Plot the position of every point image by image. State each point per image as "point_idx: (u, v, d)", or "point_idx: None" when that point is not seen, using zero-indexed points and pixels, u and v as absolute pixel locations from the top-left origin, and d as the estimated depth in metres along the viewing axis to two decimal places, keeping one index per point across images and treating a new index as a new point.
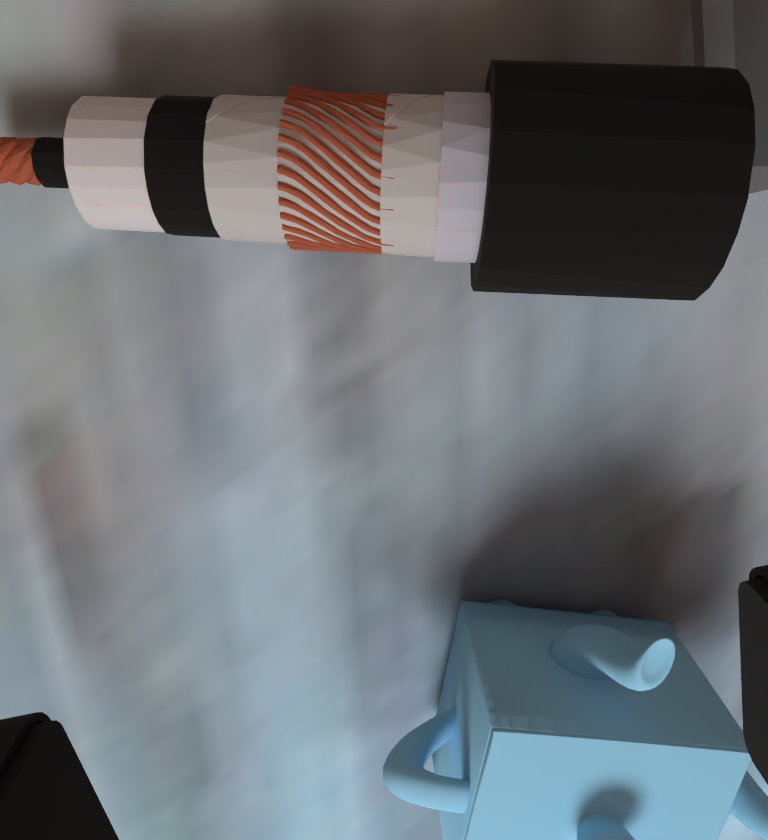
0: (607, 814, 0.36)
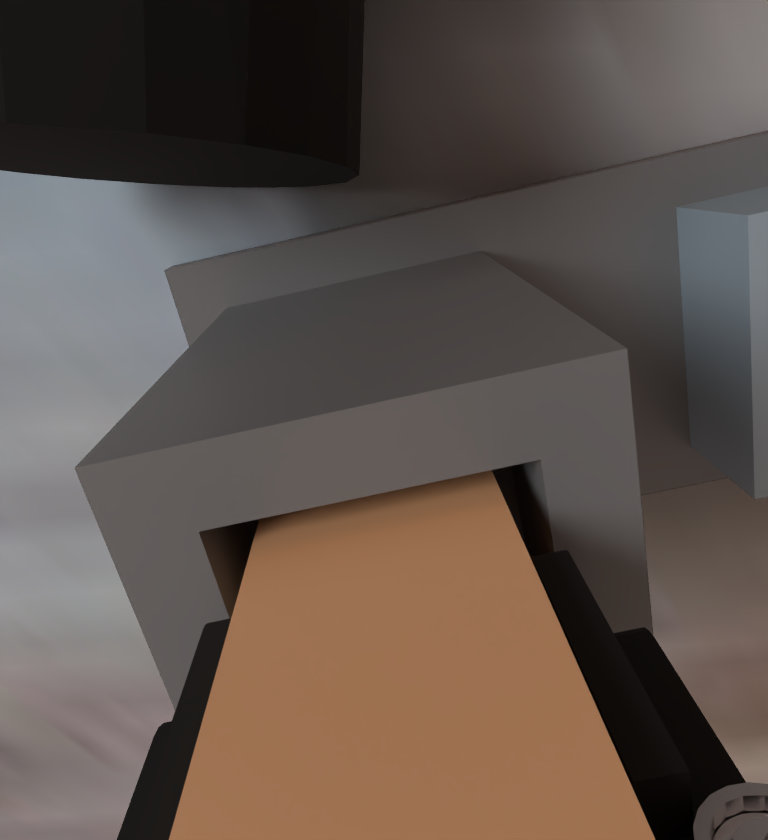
0: None
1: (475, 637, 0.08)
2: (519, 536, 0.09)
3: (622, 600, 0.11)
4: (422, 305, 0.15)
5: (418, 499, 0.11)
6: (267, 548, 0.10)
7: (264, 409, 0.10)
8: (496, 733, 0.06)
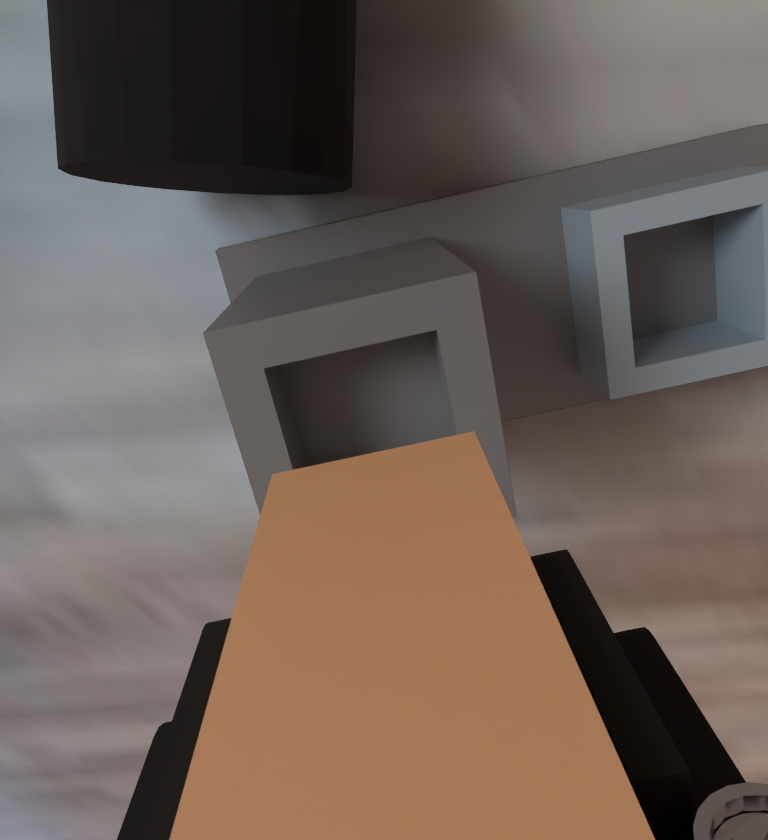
0: None
1: (474, 636, 0.08)
2: (519, 536, 0.09)
3: (484, 409, 0.21)
4: (384, 264, 0.25)
5: (418, 499, 0.11)
6: (267, 548, 0.10)
7: (296, 307, 0.20)
8: (495, 732, 0.06)
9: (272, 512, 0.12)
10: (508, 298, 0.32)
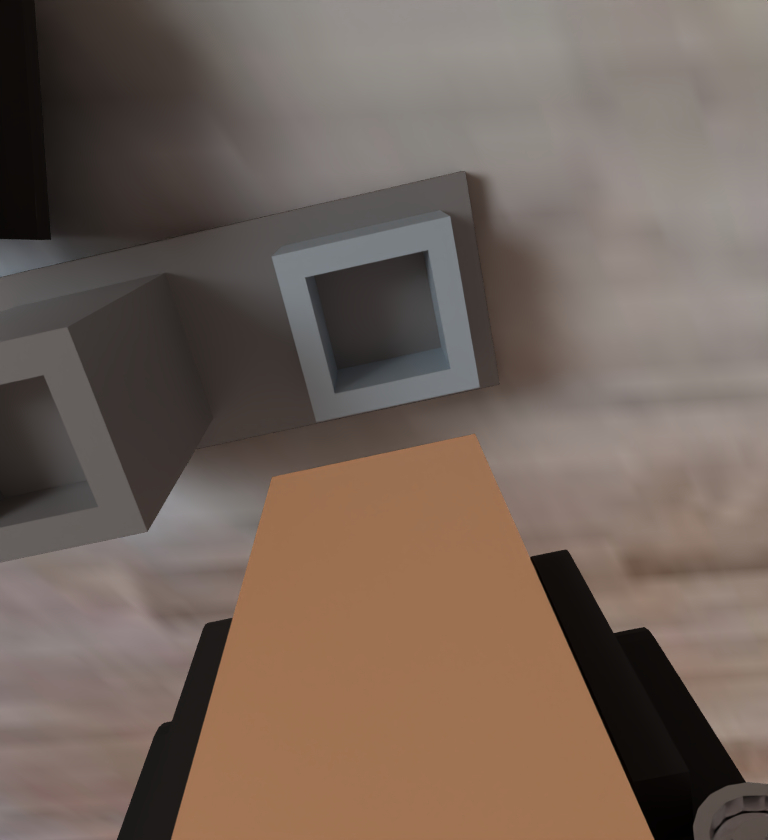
0: None
1: (475, 642, 0.08)
2: (520, 540, 0.09)
3: (99, 441, 0.24)
4: (70, 307, 0.28)
5: (419, 502, 0.11)
6: (267, 552, 0.10)
7: None
8: (497, 741, 0.06)
9: (272, 516, 0.12)
10: (244, 327, 0.35)
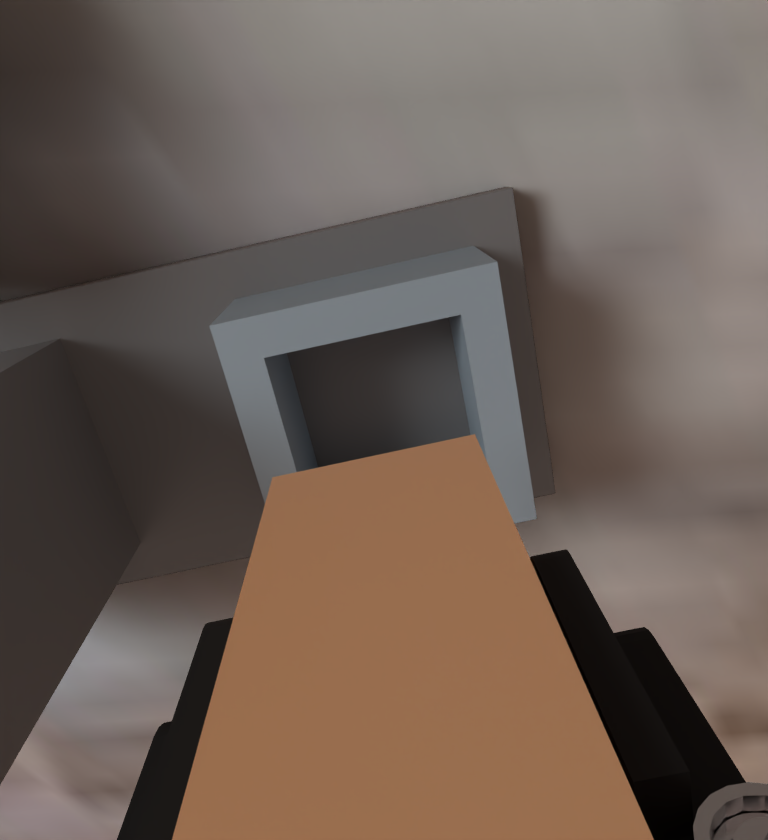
0: None
1: (476, 642, 0.08)
2: (520, 540, 0.09)
3: None
4: None
5: (419, 503, 0.11)
6: (268, 551, 0.10)
7: None
8: (496, 739, 0.06)
9: (272, 516, 0.12)
10: (182, 416, 0.24)
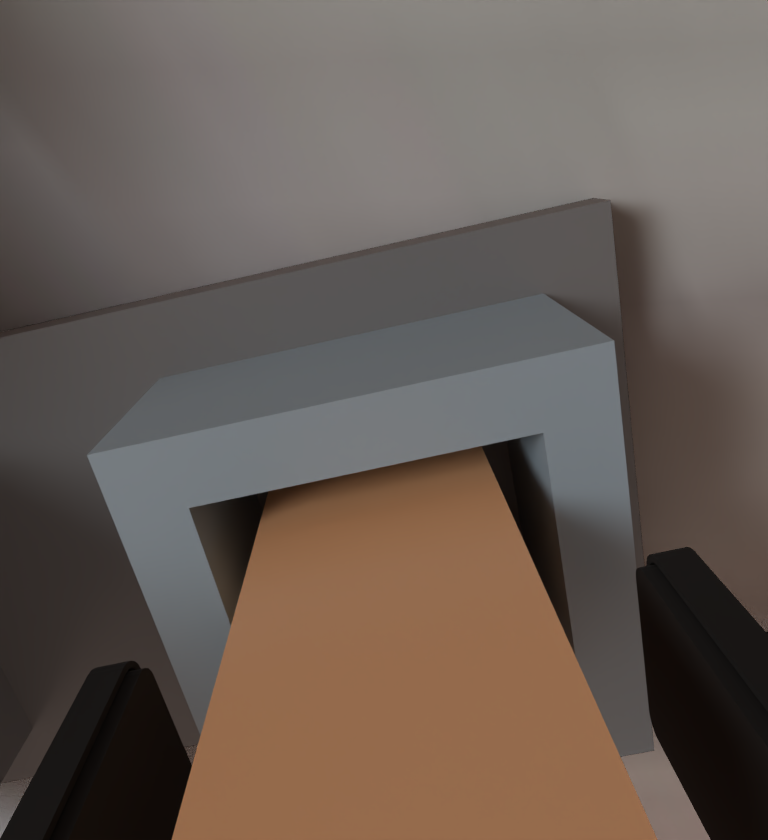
0: None
1: (457, 565, 0.09)
2: (499, 489, 0.11)
3: None
4: None
5: (412, 462, 0.12)
6: (278, 505, 0.12)
7: None
8: (472, 631, 0.08)
9: None
10: (85, 552, 0.15)
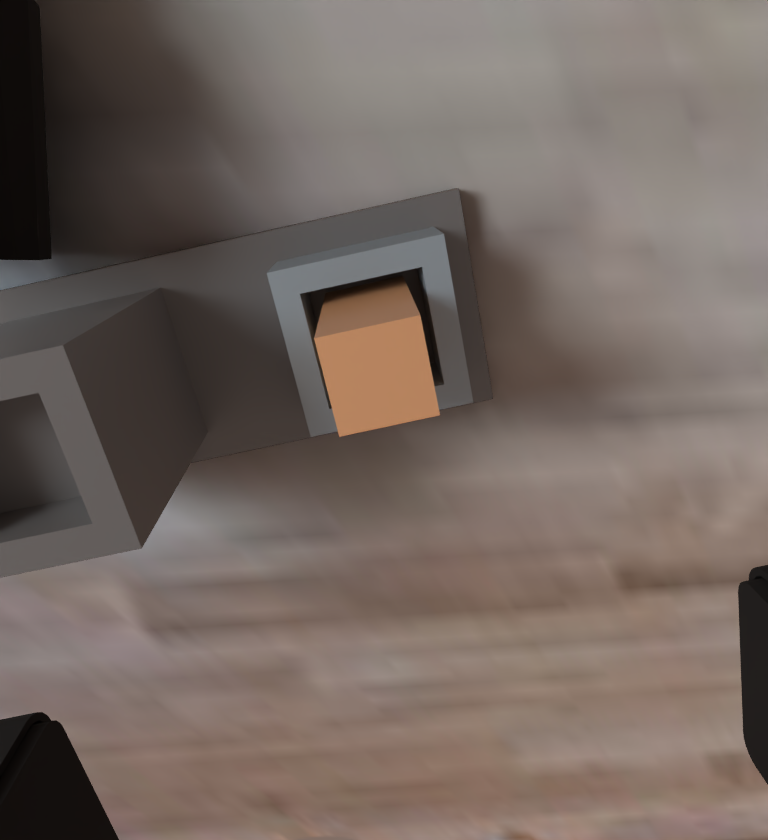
0: None
1: (389, 300, 0.29)
2: (408, 288, 0.30)
3: (93, 458, 0.24)
4: (65, 323, 0.28)
5: (379, 288, 0.32)
6: (328, 301, 0.32)
7: None
8: (390, 306, 0.27)
9: (328, 297, 0.33)
10: (239, 342, 0.35)
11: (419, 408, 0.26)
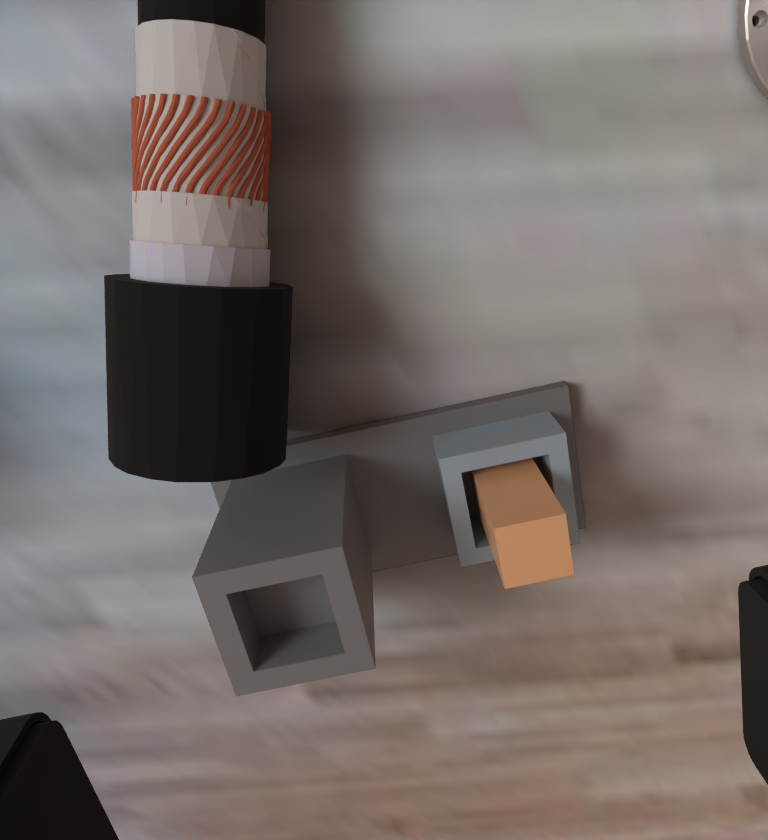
0: None
1: (530, 483, 0.41)
2: (537, 468, 0.43)
3: (352, 613, 0.36)
4: (305, 502, 0.40)
5: None
6: (477, 472, 0.44)
7: (244, 558, 0.36)
8: (535, 494, 0.40)
9: None
10: (400, 490, 0.47)
11: (560, 570, 0.38)
